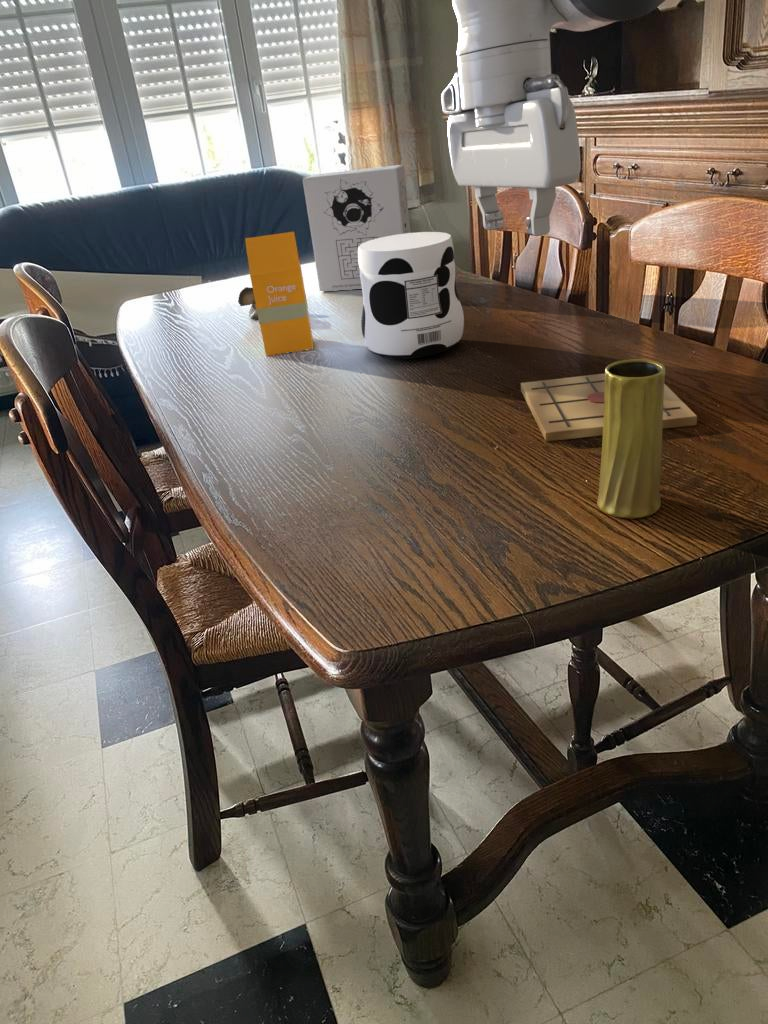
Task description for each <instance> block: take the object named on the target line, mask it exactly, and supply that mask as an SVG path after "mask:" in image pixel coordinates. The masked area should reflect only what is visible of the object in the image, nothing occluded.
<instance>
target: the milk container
mask: <svg viewBox="0 0 768 1024" xmlns="http://www.w3.org/2000/svg"><path fill="white" fill-rule="evenodd" d="M454 258H455V250H454V242H453V238H452V235H451V234H450V233H447V232H441V231H419V232H410V233H406V234H398V235H392V236H386V237H381V238H377V239H373V240H370V241H367V242H365V243H362V244H361V245H360V246H359V247H358V263H359V268H360V279H361V285H362V290H361V291H362V302H363V304H362V313H361V322H360V328H361V333H362V337H363V340H364V343H365V347H366V348H367V349H368V350H369V351H370V352H371V353H372V354H374V355H376V356H379V357H381V358H386V359H393V360H403V359H404V360H406V359H407V360H411V359H418V358H419V359H420V358H426V357H429V356H435V355H439V354H441V353H443V352H446V351H448V350H451V349H452V348H453V347H455V346H456V345H458V343H459V342H460V341H461V340H462V337H463V334H464V328H465V318H464V317H465V316H464V309H463V306H462V303H461V301H460V298H459V294H458V290H457V283H456V281H457V280H456V263H455V259H454Z"/></svg>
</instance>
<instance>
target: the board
mask: <svg viewBox="0 0 768 1024" xmlns="http://www.w3.org/2000/svg"><path fill="white" fill-rule="evenodd" d="M520 392H521V393H522V396H523V398H524V400H525V402H526V404H527V407H528V408H529V411H530V413H531V415H532V416H533V419H534V420H535V423H536V425H537V426H538V427H537V428H538V429H539V431H540V433H541V435H542V437H543V439H544V441H545V443H547V442H555V441H556V442H557V441H565V440H572V439H573V440H574V439H584V438H593V437H601V436H602V437H603V423H604V393H605V372H604V373H595V374H588V375H587V374H586V375H579V376H571V377H570V376H569V377H562V378H555V379H554V378H553V379H552V378H551V379H544V380H535V381H526V382H525V381H524V382H520ZM697 424H698V415H697V414H695V412H693V410H691V408H690V407H688V405H687V404H686V403H684V402H683V400H682V399H681V398H680V397H678V395H677V394H676V393H675V392H674V391H673V390H672V389H671V388H670V387H669V386H668V385H666V384H665V383H664V399H663V429H662V430H665V429H673V428H674V429H675V428H681V427H693V426H697Z"/></svg>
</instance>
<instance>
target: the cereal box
mask: <svg viewBox="0 0 768 1024" xmlns="http://www.w3.org/2000/svg"><path fill="white" fill-rule="evenodd" d="M405 171H406V170H405V165H404V164H397V165H396V164H395V165H387V166H378V167H370V168H369V167H368V168H360V169H352V170H351V169H350V170H342V171H341V170H340V171H333V172H323V173H315V174H311V175H308V176H305V177H303V178H302V185H303V192H304V197H305V205H306V210H307V217H308V223H309V230H310V237H311V244H312V250H313V255H314V256H313V257H314V260H315V261H314V262H315V268H316V275H317V280H318V287H319V292H320V291H334V290H350V291H353V290H352V289H362V285H361V279H360V268H359V263H358V247H359V246H360V245H361V244H362V243H365V242H367V241H370V240H373V239H377V238H381V237H386V236H392V235H398V234H406V233H411V225H410V213H409V204H408V203H409V202H408V193H407V191H408V190H407V181H406V172H405Z"/></svg>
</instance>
